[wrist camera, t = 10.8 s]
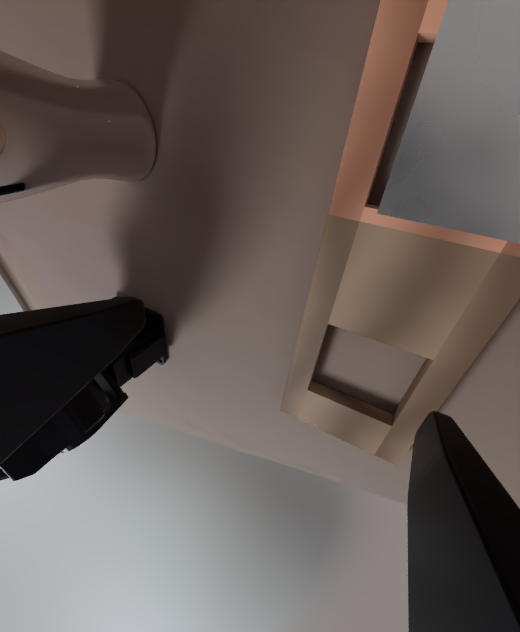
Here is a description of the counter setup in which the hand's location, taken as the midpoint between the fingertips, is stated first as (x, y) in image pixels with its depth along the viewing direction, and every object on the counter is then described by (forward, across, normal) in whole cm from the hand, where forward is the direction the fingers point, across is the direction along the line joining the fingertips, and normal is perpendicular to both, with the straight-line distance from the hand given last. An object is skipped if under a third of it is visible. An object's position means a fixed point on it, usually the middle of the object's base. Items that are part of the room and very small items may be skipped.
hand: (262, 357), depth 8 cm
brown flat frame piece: (+11, -4, +2) cm, 12 cm away
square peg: (+11, -4, -6) cm, 14 cm away
